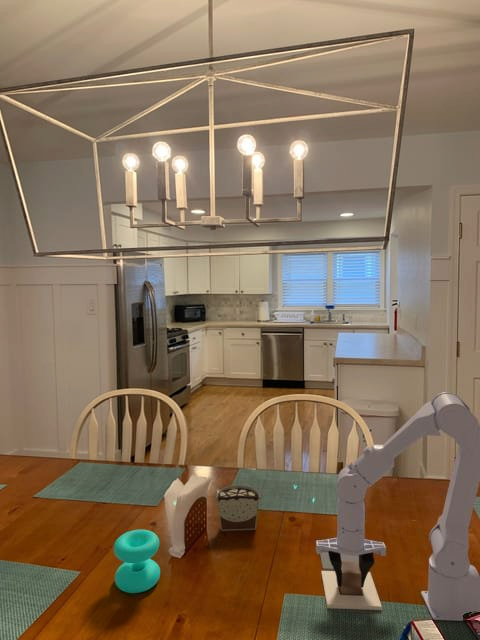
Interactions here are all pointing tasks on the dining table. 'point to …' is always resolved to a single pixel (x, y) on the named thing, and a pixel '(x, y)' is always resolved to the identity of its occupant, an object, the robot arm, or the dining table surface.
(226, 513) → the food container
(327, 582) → the pocket plate
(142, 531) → the turquoise spool
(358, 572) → the block
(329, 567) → the mat
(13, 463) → the dining table surface
